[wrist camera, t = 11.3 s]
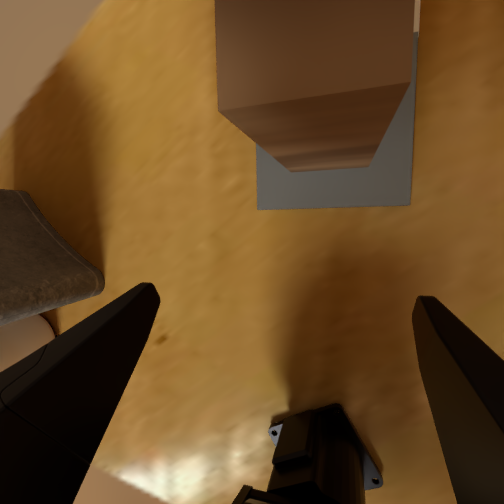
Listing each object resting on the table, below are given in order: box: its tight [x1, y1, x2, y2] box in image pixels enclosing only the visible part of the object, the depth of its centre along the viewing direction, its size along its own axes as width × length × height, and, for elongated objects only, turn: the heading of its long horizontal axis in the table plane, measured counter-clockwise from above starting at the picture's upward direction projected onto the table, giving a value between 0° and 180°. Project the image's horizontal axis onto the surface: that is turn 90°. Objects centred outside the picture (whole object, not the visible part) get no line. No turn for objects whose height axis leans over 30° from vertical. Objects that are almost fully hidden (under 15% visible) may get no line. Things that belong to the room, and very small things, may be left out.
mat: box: [256, 32, 418, 210], centre depth 19 cm, size 10×10×1 cm
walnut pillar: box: [215, 0, 415, 172], centre depth 13 cm, size 5×5×12 cm
